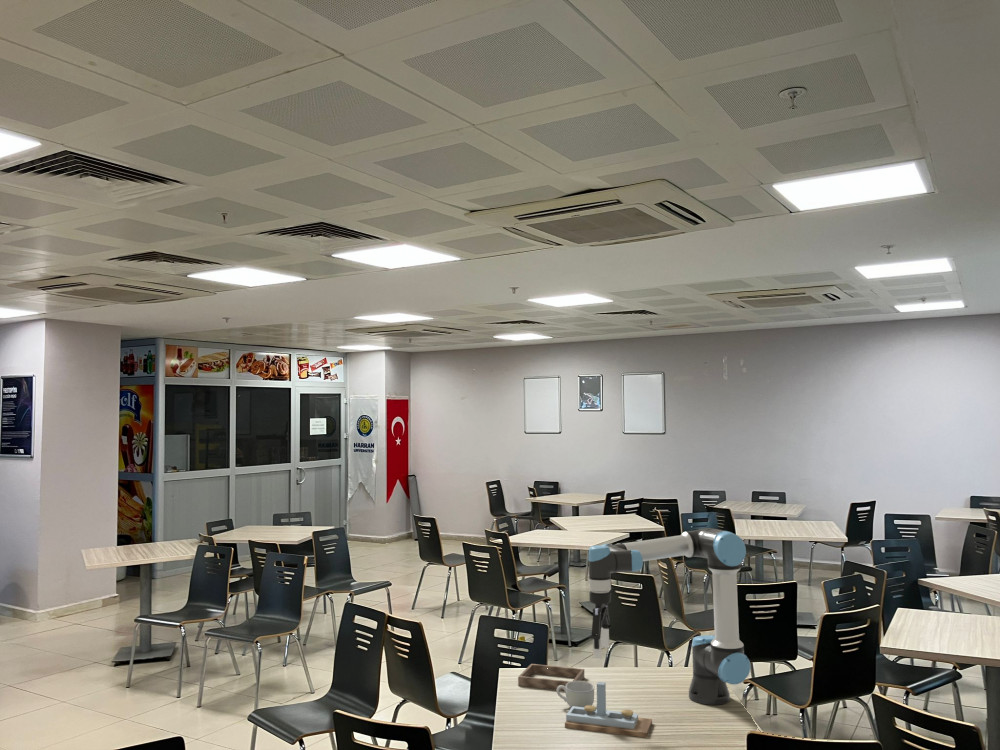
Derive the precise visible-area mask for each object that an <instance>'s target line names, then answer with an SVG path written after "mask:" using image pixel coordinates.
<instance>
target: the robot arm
mask: <svg viewBox="0 0 1000 750" xmlns="http://www.w3.org/2000/svg"><path fill="white" fill-rule="evenodd" d="M746 554H747V549H746V544H745V542H744V540H743V539H742V538H741V537H740V536H739V535H738V534H735V533H733V532H732V531H728V530H723V529H718V528H713V527H709V528H708V527H707V528H701V529H696V530H689V531H683V532H682V533H681V534H680V535H673V536H666V537H658V538H654V539H653V538H652V539H645V540H640V541H639V540H638V541H632V542H631V541H630V542H625V543H618V544H612V543H611V544H610V543H605V544H601V545H597V544H596V545H592V546H590V547H589V548H588V558H587V561H588V579H589V580H587V583H588V584H589V585H588V586H589V587H588V588H589V590H590V591H589V592H588V593H589V594H588V595H589V602H590V603H591V604H594V605H595V607H594V608H592V625H591V635H590V636H589V637H590V640H591V639H592V652H593V653H592V654H593V655H592V656H593V659H600V660H601V659H602V656H603V655H602V648H607V649H608V648H610V629H611V628H612V625H611V622H610V621H611V620H610V613H609V605H608V604H610V603H611V602H612V592H611V590H612V580H611V574H615V573H616V574H617V573H634V572H639V571H641V570H642V569H643V565H644V562H648V561H655V560H661V559H667V558H676V557H682V556H685V557H687V558H693V557H695V558H696V557H697V558H703V559H706V560H707V569H709V571H710V572H711V573H712V595H713V596H712V597H713V598H712V599H713V600H712V601H713V602H712V603H713V623H714V626H713V627H714V635H712V634H711V635H708V634H707V635H697V636H695V637H693V638H692V643H691V648H692V651H691V652H692V678H691V681H690V685H689V688H688V697H689V699H690V700H691V701H693V702H695V703H698V704H702V705H710V706H716V705H717V706H718V705H724V704H727V703H729V702H730V701H731V696H730V695H731V694H730V691H729V688H728V685H739V684H741V683H743V682H744V681H745V680H746V679H747V678H748V677H749V674H750V673H751V667H752V666H751V662H750V661H751V660H750V659H749V658H748V656H747V655H746V654H745V645H744V643H743V642H742V641H741V640H740V633H739V631H740V630H739V606H738V605H739V604H738V603H739V602H738V581H737V580H738V574H737V573H739V571H741V565H742V563H743V560H745V557H746ZM727 684H728V685H727Z"/></svg>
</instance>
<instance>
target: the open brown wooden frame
mask: <svg viewBox="0 0 1000 750" xmlns="http://www.w3.org/2000/svg"><path fill="white" fill-rule="evenodd" d="M547 668H548V669H547ZM533 674H537V675H547V676H557V677H564V678H565V677H568V678H573V680H572V681H584V679H585V668H579V667H577V668H575V667H568V666H566V667H565V666H555V665H547V664H538V663H537V664H536V663H531V664H529V665H528V666H527V667H526V668H525V669H524V670H523V671H522V673H520V674H519V676H518V677H517V686H518V687H527V688H528V687H529V688H537V689H545V688H548V689H547V690H554V689H555V690H556V691H557V687H558V686H560V685H563V686H565V687H566V684H567V683H568V682H571V681H570V680H562V679H552V678H542V677H541V678H540V677H532V675H533ZM559 691H563V692H565V691H564V689H563V688H560V689H559Z"/></svg>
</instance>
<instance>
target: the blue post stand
mask: <svg viewBox="0 0 1000 750" xmlns="http://www.w3.org/2000/svg"><path fill="white" fill-rule="evenodd" d="M606 685H607V684H606V682H604V681H603V682H602V681H598V682H597V683H596V711H594V712H593V715H590V714H587V711H585V710H584V707H576V706H572V707H571V706H570V709H569V710H568V711H567V713H566V715H565V716H566V717H565V722H566V721H572V722H580V723H588V724H596V725H604V726H613V727H621V728H629V729H634V728H635V726H636V724H637V721H638V718H639V713H637V712H636V713H635V712H633V715H632V716H630V719H624V715H622V714H621V711H617V710H608V709H607V701H606V700H607V699H606V698H607V696H606V695H607V694H606V693H607V692H606V689H607V686H606Z"/></svg>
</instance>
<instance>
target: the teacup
mask: <svg viewBox="0 0 1000 750" xmlns="http://www.w3.org/2000/svg"><path fill="white" fill-rule="evenodd" d="M560 688H563V689H564V691H563V692H564V694H565V696H564V695H563V694H561V692H560V690H559V689H560ZM556 694H557V695H558V697H559V698H561V699H563V701H564V702H565V703H567V705H568V706H569V707H570V708H571V707H572V706H576V707H585V706H587V705H592V706H593V705H594V703H595V702H594V701H595V685H594V684H593V683H591V682H589V681H585V680H582V681H573V680H572V681H571V682H568V683H567V684H566V687H565V686H563V685H560V686H558V687H557V690H556Z"/></svg>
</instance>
